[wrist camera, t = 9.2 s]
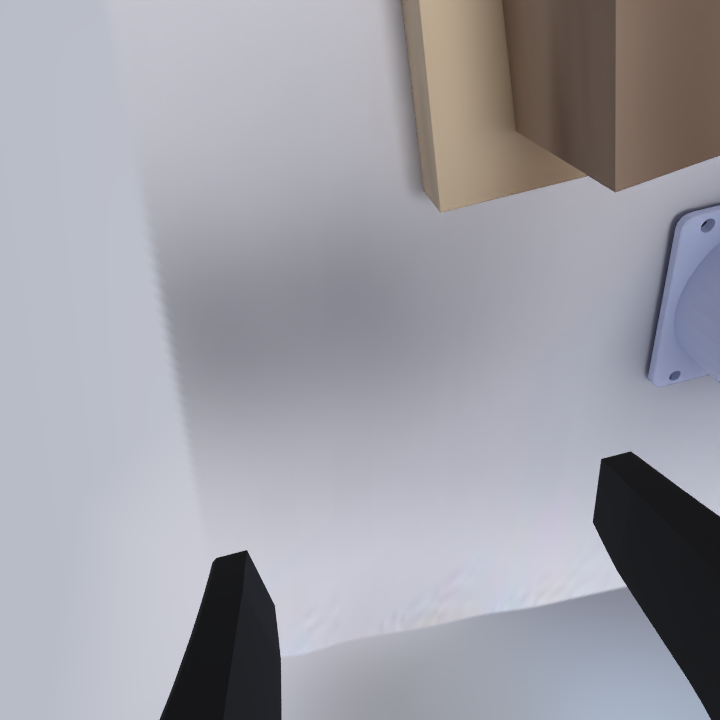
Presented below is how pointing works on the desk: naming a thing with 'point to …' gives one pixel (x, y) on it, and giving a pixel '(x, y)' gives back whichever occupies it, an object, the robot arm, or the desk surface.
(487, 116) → the oak slab
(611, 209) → the desk surface
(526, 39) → the walnut block
